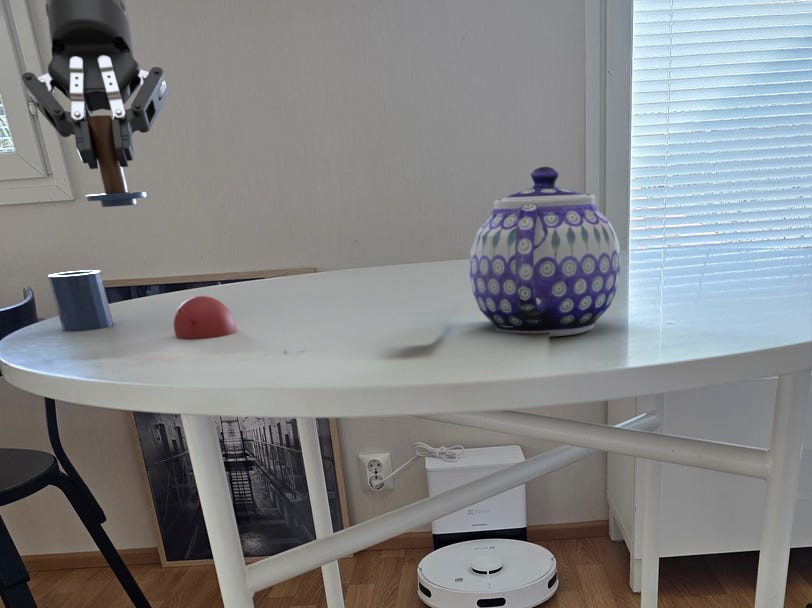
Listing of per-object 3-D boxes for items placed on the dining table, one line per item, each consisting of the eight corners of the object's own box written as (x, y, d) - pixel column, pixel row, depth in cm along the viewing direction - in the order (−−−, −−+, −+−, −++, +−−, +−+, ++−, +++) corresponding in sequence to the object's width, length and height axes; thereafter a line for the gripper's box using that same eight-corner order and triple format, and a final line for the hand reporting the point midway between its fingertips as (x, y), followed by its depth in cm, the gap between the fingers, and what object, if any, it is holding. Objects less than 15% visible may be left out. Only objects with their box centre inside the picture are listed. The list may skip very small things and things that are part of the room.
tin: (58, 348, 97) (38, 277, 93) (82, 340, 101) (63, 271, 98) (103, 346, 96) (85, 275, 92) (125, 338, 101) (108, 269, 97)
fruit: (180, 375, 89) (147, 311, 82) (192, 338, 92) (162, 273, 85) (236, 373, 89) (208, 308, 82) (247, 336, 91) (221, 270, 85)
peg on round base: (77, 209, 82) (54, 117, 79) (106, 206, 87) (85, 119, 84) (134, 205, 82) (113, 112, 78) (160, 202, 87) (141, 115, 83)
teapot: (601, 353, 77) (604, 164, 70) (440, 354, 81) (427, 175, 74) (632, 309, 98) (636, 160, 91) (503, 311, 102) (497, 168, 95)
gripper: (169, 55, 90) (189, 187, 86) (29, 61, 88) (42, 197, 83) (152, -17, 83) (173, 122, 79) (0, -14, 81) (13, 131, 76)
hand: (106, 160), depth 81 cm, fingers closed on peg on round base
